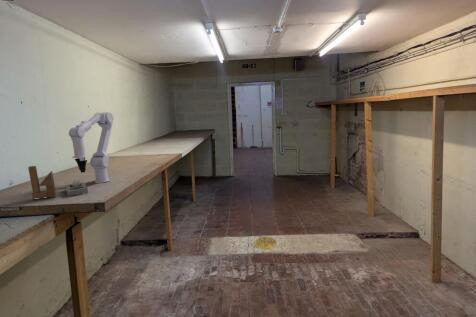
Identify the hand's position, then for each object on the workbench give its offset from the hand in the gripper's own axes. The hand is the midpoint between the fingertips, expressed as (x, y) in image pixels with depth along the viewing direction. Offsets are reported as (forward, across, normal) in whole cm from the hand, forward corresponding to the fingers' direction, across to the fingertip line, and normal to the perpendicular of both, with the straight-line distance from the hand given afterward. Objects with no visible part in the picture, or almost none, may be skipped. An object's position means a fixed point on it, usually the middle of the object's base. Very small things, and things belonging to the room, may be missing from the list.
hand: (82, 171), depth 195 cm
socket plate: (+10, +4, -5) cm, 12 cm away
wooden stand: (+11, +5, -21) cm, 24 cm away
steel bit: (+10, +1, -4) cm, 11 cm away
